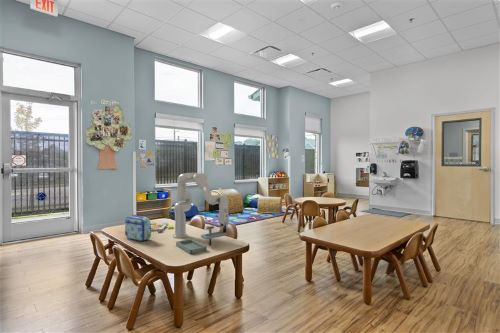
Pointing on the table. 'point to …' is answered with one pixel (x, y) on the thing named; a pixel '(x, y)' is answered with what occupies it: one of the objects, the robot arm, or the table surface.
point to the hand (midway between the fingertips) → (223, 231)
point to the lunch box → (137, 228)
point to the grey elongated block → (214, 234)
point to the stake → (210, 234)
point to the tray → (191, 246)
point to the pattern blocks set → (159, 227)
